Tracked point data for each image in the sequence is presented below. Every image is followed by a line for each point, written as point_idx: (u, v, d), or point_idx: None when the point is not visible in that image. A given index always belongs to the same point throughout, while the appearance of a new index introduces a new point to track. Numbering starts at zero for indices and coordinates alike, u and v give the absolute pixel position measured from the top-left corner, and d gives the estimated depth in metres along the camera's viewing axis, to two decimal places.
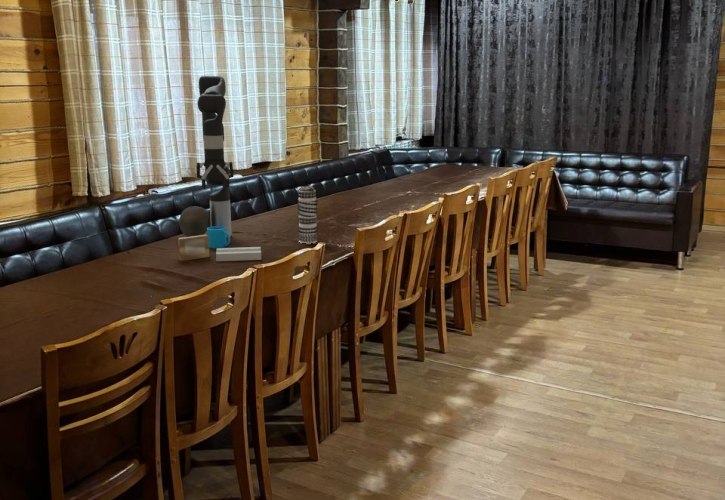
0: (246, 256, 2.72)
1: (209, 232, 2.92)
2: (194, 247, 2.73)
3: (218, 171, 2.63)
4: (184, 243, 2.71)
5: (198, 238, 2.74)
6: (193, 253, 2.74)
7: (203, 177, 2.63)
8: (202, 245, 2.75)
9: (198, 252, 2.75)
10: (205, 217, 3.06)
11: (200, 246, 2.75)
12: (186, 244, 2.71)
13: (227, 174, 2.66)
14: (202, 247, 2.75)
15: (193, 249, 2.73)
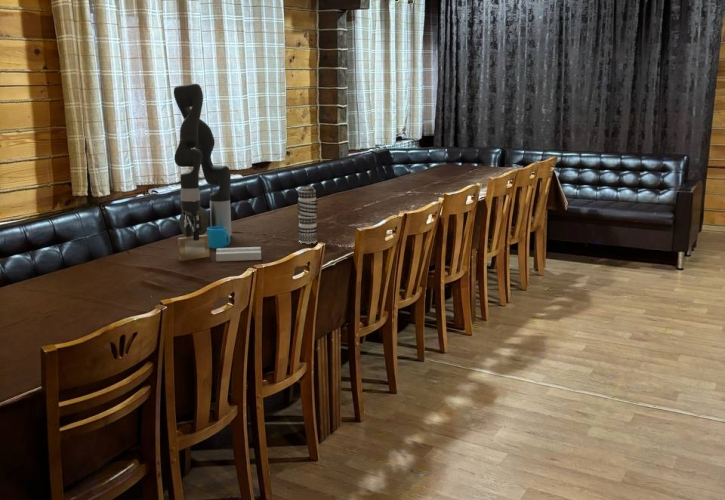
0: (246, 256, 2.72)
1: (209, 232, 2.92)
2: (194, 247, 2.73)
3: None
4: (184, 243, 2.71)
5: None
6: (193, 253, 2.74)
7: None
8: (202, 245, 2.75)
9: (198, 252, 2.75)
10: (205, 217, 3.06)
11: (200, 246, 2.75)
12: (186, 244, 2.71)
13: None
14: (202, 247, 2.75)
15: (193, 249, 2.73)
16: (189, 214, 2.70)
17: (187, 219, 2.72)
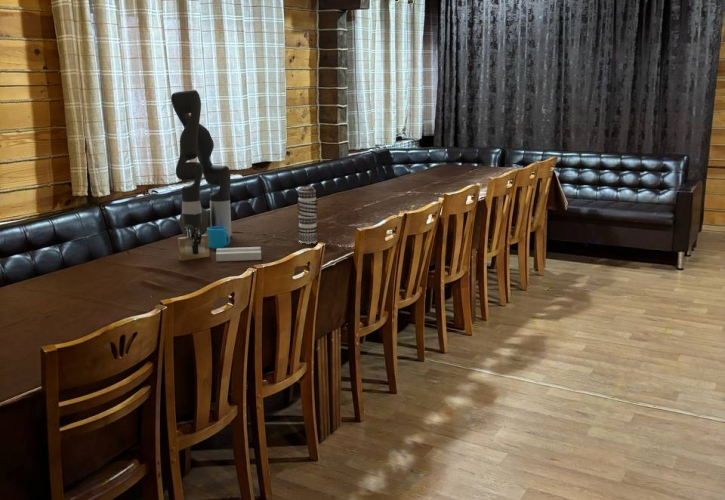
0: (246, 256, 2.72)
1: (209, 232, 2.92)
2: None
3: None
4: (184, 242, 2.70)
5: None
6: None
7: None
8: (202, 244, 2.75)
9: (198, 252, 2.75)
10: (205, 217, 3.06)
11: (200, 245, 2.75)
12: (186, 243, 2.71)
13: None
14: (202, 247, 2.75)
15: None
16: (190, 227, 2.71)
17: None
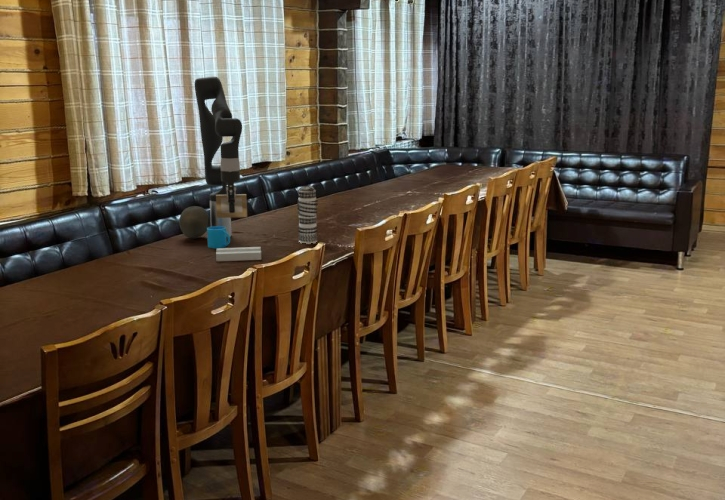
0: (246, 256, 2.72)
1: (209, 232, 2.92)
2: None
3: None
4: (220, 200, 2.69)
5: (235, 197, 2.70)
6: None
7: (234, 201, 2.69)
8: (239, 204, 2.70)
9: None
10: (205, 217, 3.06)
11: (237, 205, 2.70)
12: (222, 201, 2.69)
13: None
14: (239, 206, 2.71)
15: None
16: None
17: None
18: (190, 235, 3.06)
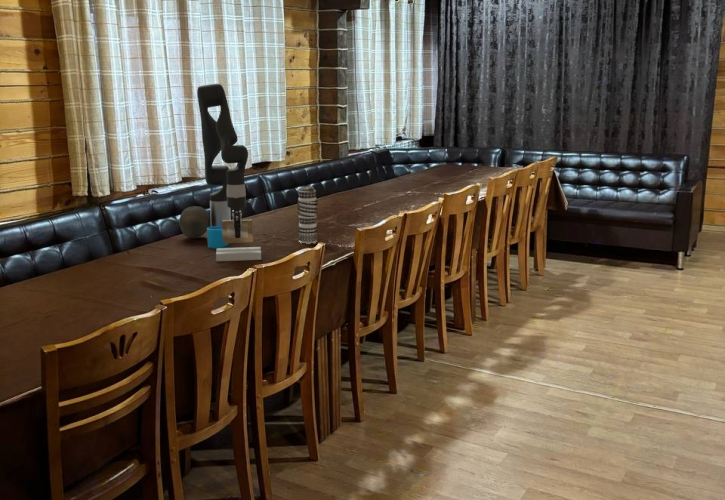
0: (246, 256, 2.72)
1: (209, 232, 2.92)
2: None
3: None
4: (226, 225, 2.72)
5: (241, 222, 2.72)
6: None
7: (240, 226, 2.72)
8: (245, 229, 2.73)
9: None
10: (205, 217, 3.06)
11: (242, 230, 2.73)
12: (228, 226, 2.72)
13: None
14: (245, 231, 2.73)
15: None
16: None
17: None
18: (190, 235, 3.06)
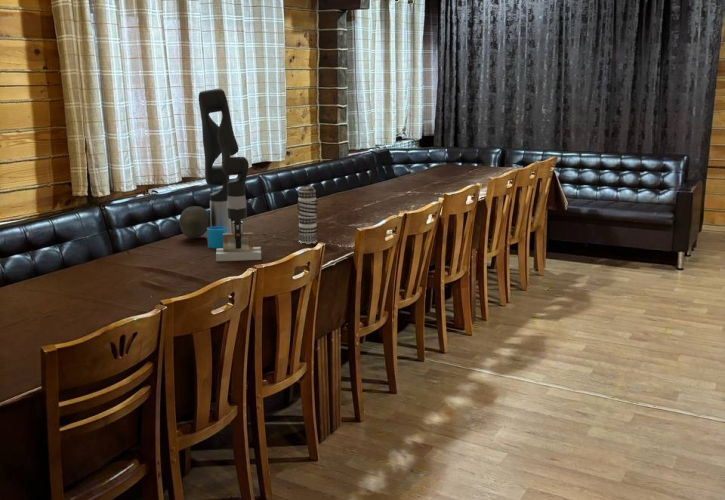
0: (246, 256, 2.72)
1: (209, 232, 2.92)
2: None
3: None
4: (226, 239, 2.73)
5: (242, 236, 2.74)
6: (236, 249, 2.75)
7: (241, 237, 2.71)
8: (246, 242, 2.75)
9: (241, 250, 2.75)
10: (205, 217, 3.06)
11: (243, 243, 2.75)
12: (229, 240, 2.73)
13: None
14: (246, 245, 2.75)
15: None
16: None
17: None
18: (190, 235, 3.06)
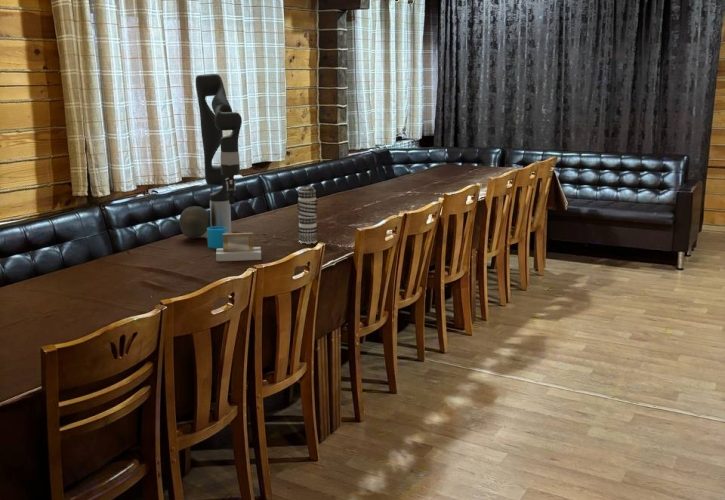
0: (246, 256, 2.72)
1: (209, 232, 2.92)
2: (237, 244, 2.74)
3: None
4: (226, 239, 2.73)
5: (242, 236, 2.74)
6: (236, 249, 2.75)
7: None
8: (246, 242, 2.75)
9: (241, 250, 2.75)
10: (205, 217, 3.06)
11: (243, 243, 2.75)
12: (229, 240, 2.73)
13: None
14: (246, 245, 2.75)
15: (236, 246, 2.74)
16: None
17: None
18: (190, 235, 3.06)
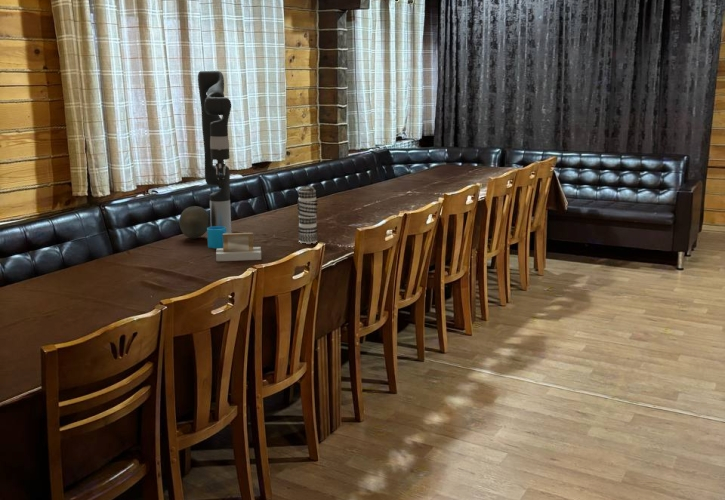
0: (246, 256, 2.72)
1: (209, 232, 2.92)
2: (237, 244, 2.74)
3: (223, 170, 2.78)
4: (226, 239, 2.73)
5: (242, 236, 2.74)
6: (236, 249, 2.75)
7: (223, 177, 2.73)
8: (246, 242, 2.75)
9: (241, 250, 2.75)
10: (205, 217, 3.06)
11: (243, 243, 2.75)
12: (229, 240, 2.73)
13: None
14: (246, 245, 2.75)
15: (236, 246, 2.74)
16: None
17: None
18: (190, 235, 3.06)
